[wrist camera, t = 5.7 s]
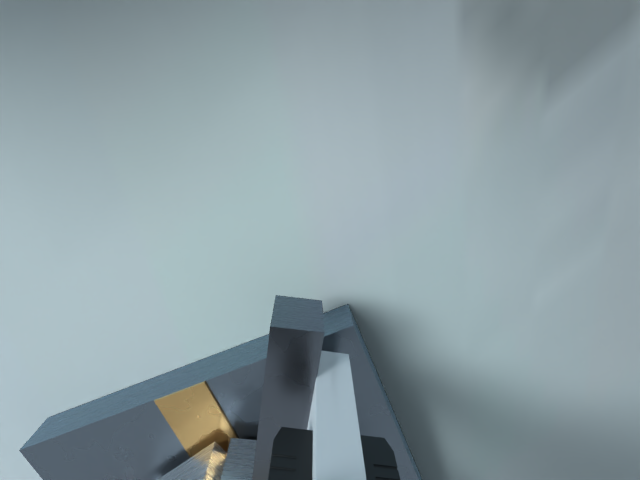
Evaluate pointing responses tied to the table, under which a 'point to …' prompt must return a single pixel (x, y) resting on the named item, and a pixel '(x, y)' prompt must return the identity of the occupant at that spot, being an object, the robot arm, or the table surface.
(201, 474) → the octagonal ring panel
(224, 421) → the base plate
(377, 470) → the robot arm
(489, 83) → the table surface
